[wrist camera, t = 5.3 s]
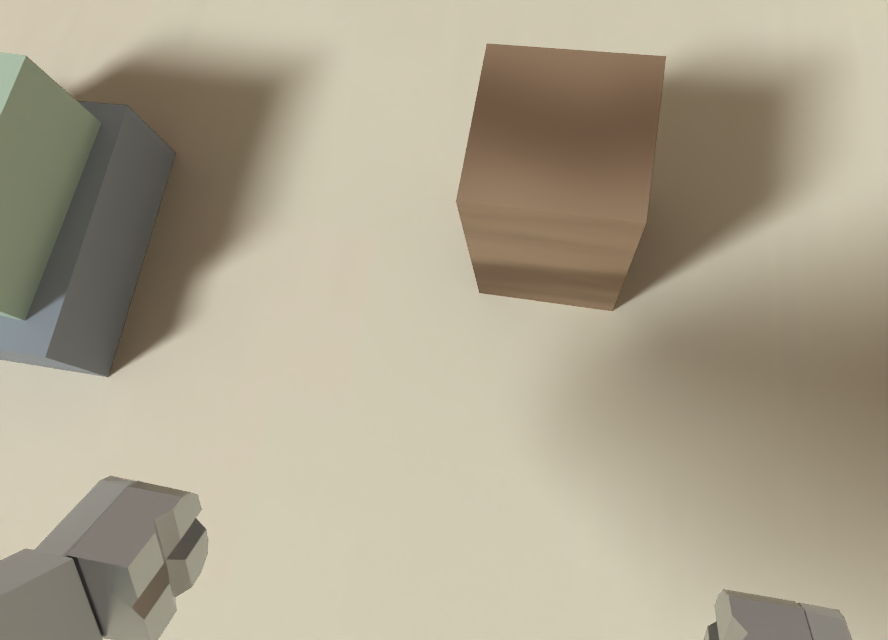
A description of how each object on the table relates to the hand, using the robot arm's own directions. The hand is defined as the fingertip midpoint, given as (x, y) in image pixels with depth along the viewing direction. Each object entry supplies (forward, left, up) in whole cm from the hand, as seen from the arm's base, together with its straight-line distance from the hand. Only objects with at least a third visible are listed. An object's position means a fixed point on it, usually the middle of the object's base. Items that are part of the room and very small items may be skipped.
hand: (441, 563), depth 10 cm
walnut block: (+10, +4, -14) cm, 18 cm away
